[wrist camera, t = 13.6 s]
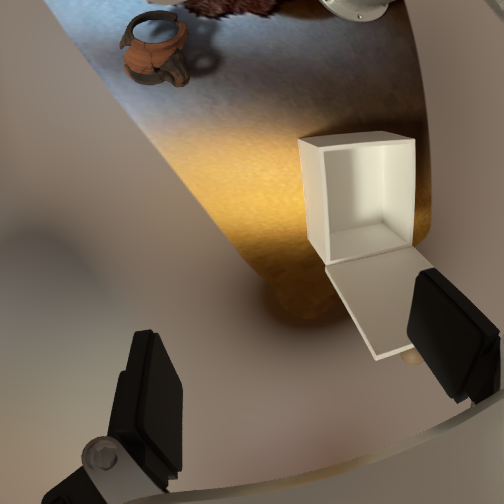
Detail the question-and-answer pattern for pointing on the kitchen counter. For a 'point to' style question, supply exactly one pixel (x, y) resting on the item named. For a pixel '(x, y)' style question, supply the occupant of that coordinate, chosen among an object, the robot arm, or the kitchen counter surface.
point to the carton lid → (381, 299)
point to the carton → (358, 193)
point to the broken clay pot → (156, 53)
